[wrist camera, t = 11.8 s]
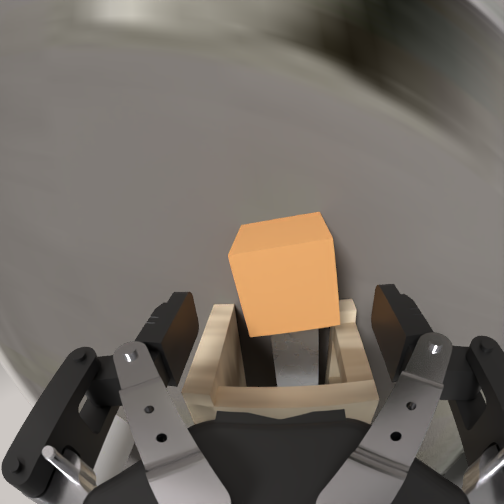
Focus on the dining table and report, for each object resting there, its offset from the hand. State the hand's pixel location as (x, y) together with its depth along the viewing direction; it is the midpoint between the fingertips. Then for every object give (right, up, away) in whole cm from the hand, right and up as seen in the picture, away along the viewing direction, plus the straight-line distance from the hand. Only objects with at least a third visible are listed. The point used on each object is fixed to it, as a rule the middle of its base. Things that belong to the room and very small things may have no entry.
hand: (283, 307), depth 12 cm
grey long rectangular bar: (+2, -6, +10) cm, 12 cm away
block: (+1, +2, +7) cm, 7 cm away
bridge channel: (+2, -12, +12) cm, 17 cm away
